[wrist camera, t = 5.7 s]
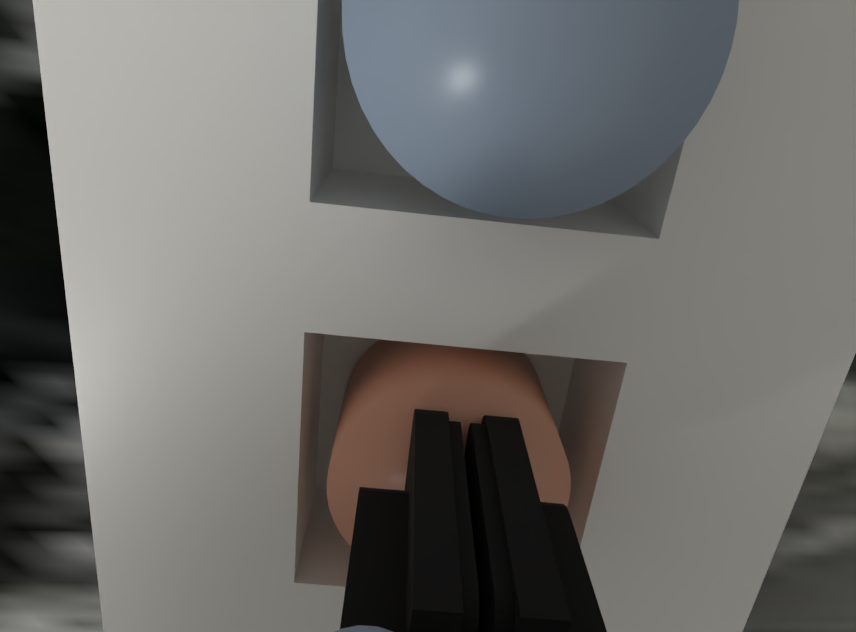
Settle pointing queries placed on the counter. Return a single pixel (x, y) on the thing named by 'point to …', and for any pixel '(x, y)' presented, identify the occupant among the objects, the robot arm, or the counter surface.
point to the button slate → (535, 92)
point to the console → (432, 308)
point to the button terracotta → (440, 391)
